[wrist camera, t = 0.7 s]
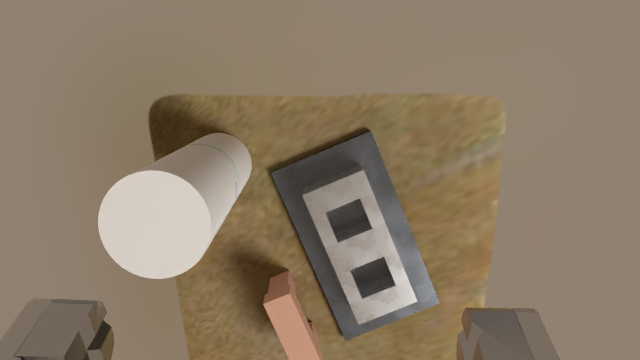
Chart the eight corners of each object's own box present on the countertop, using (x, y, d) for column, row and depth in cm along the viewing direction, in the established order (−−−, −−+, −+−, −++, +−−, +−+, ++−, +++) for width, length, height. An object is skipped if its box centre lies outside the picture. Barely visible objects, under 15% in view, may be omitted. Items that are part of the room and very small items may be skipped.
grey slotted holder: (437, 300, 61) (447, 316, 56) (344, 337, 61) (347, 356, 57) (370, 130, 57) (375, 134, 52) (271, 171, 57) (268, 178, 53)
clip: (321, 334, 61) (323, 366, 54) (298, 343, 61) (297, 376, 54) (291, 269, 59) (289, 293, 52) (267, 278, 59) (263, 304, 53)
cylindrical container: (184, 191, 57) (95, 272, 33) (190, 128, 56) (101, 163, 31) (248, 199, 58) (206, 284, 33) (254, 137, 56) (216, 177, 32)
